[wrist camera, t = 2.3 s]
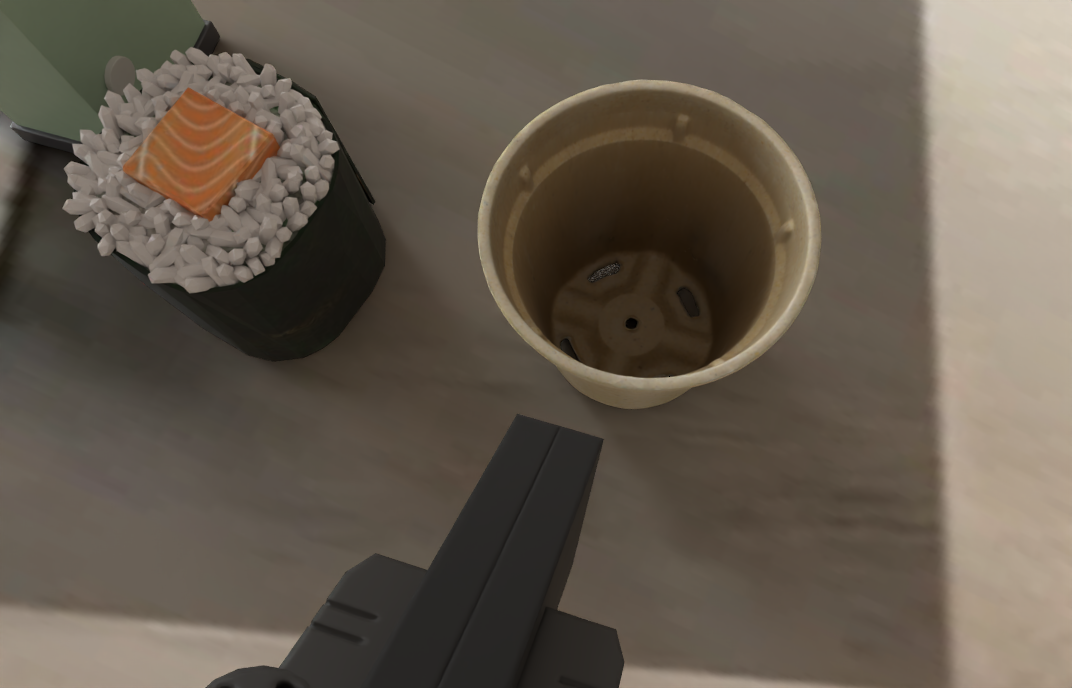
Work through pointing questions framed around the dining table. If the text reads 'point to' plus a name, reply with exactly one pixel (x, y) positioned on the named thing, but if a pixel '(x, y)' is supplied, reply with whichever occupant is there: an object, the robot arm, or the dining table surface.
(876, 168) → the dining table surface
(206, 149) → the sushi
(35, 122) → the toaster
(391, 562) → the robot arm
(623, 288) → the flower pot
